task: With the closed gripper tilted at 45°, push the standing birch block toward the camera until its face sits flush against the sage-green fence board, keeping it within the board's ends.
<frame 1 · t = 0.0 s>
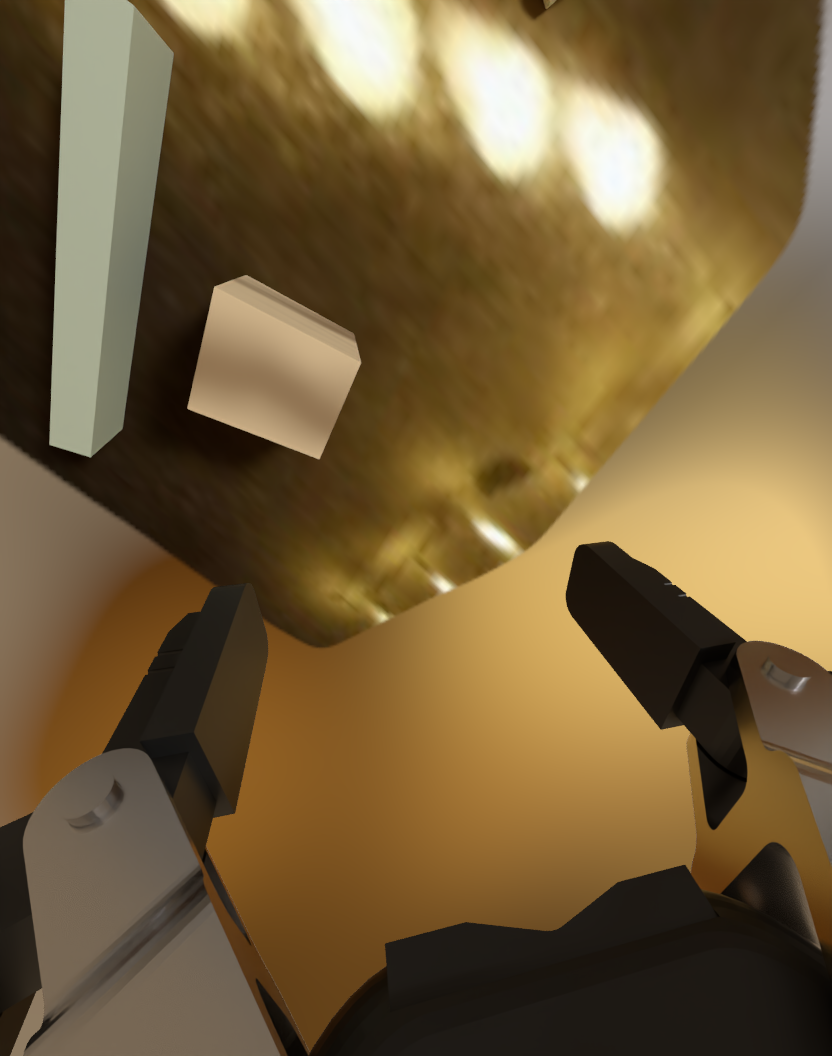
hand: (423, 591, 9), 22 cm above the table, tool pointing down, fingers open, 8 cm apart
birch block: (288, 350, 26), on the table
sage fence board: (122, 270, 22), on the table
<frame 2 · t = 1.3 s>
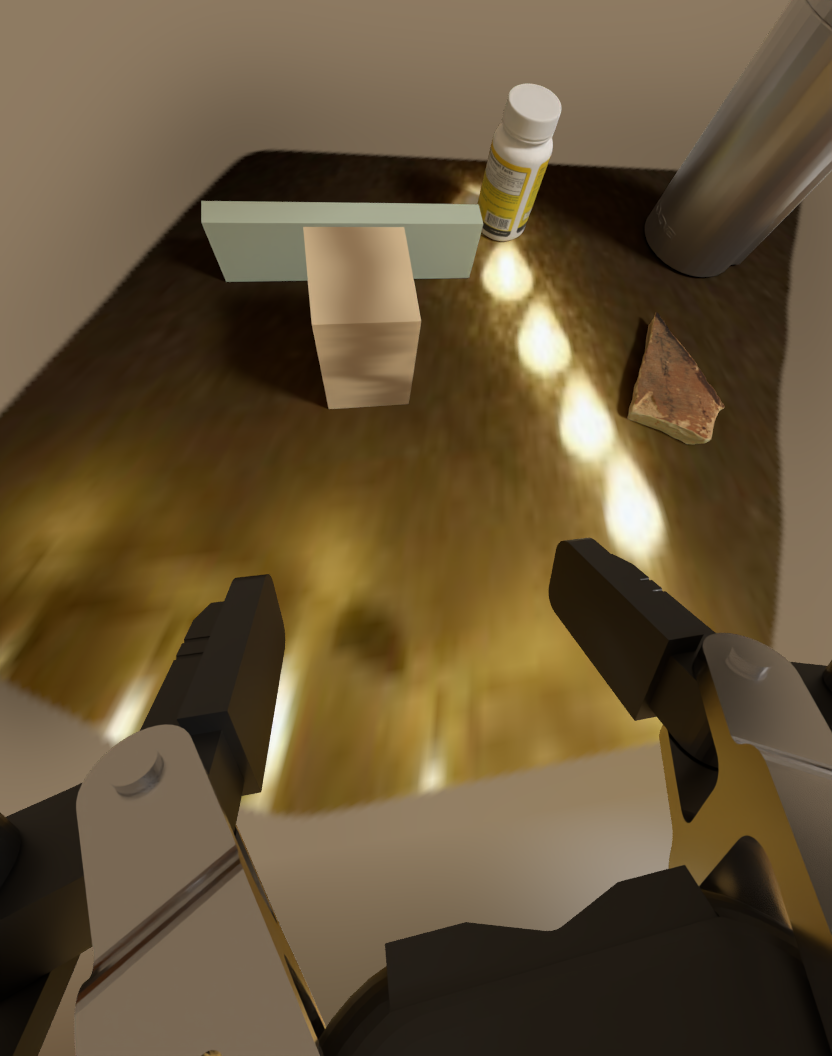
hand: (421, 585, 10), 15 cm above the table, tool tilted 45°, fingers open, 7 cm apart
birch block: (364, 367, 29), on the table
shard: (648, 393, 32), on the table
supplement bottle: (498, 226, 35), on the table
sage fence board: (351, 270, 32), on the table
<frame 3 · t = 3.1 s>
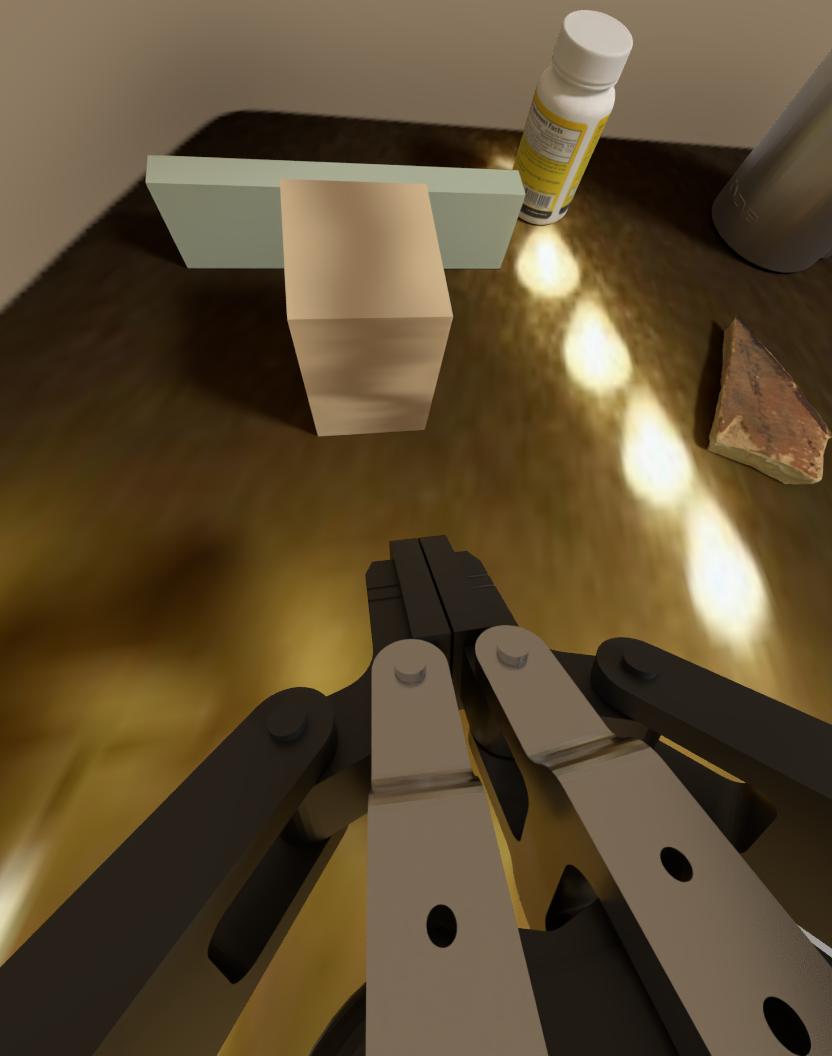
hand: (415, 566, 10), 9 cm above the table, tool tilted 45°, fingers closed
birch block: (366, 380, 22), on the table
shard: (729, 416, 25), on the table
supplement bottle: (533, 207, 28), on the table
sage fence board: (351, 256, 25), on the table
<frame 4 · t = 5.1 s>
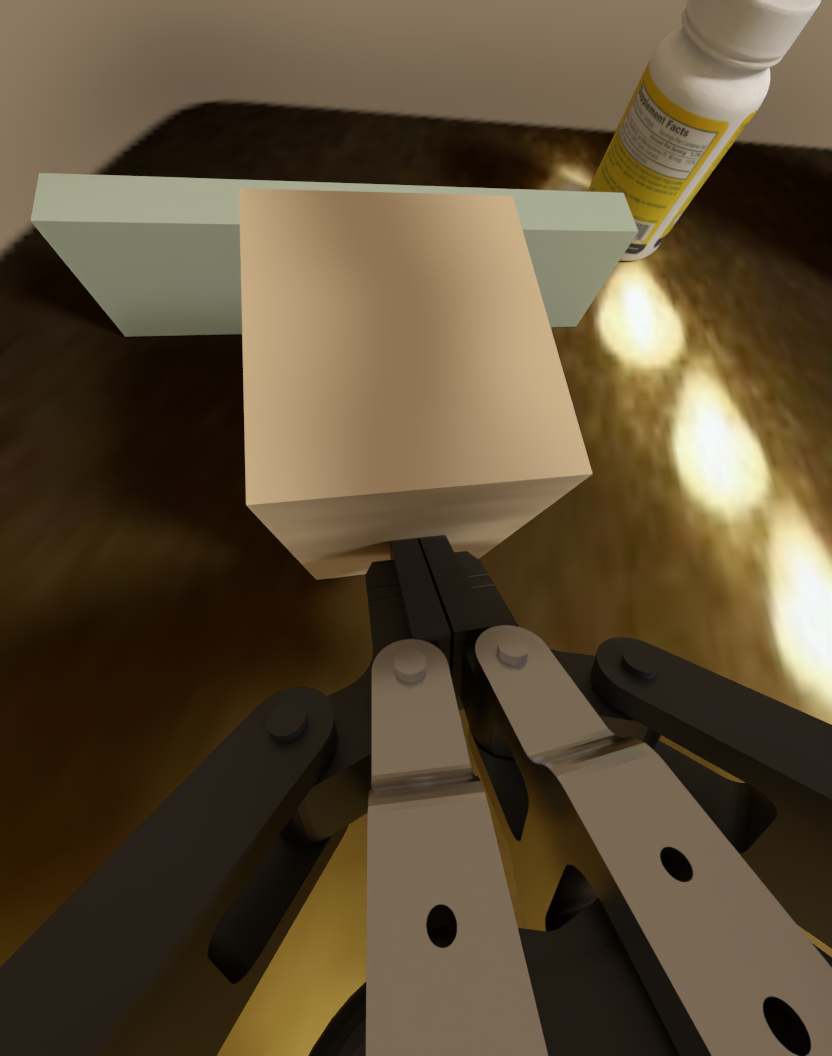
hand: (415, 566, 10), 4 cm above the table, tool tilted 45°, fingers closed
birch block: (387, 483, 15), on the table, touching gripper
supplement bottle: (613, 235, 21), on the table
sage fence board: (367, 313, 17), on the table
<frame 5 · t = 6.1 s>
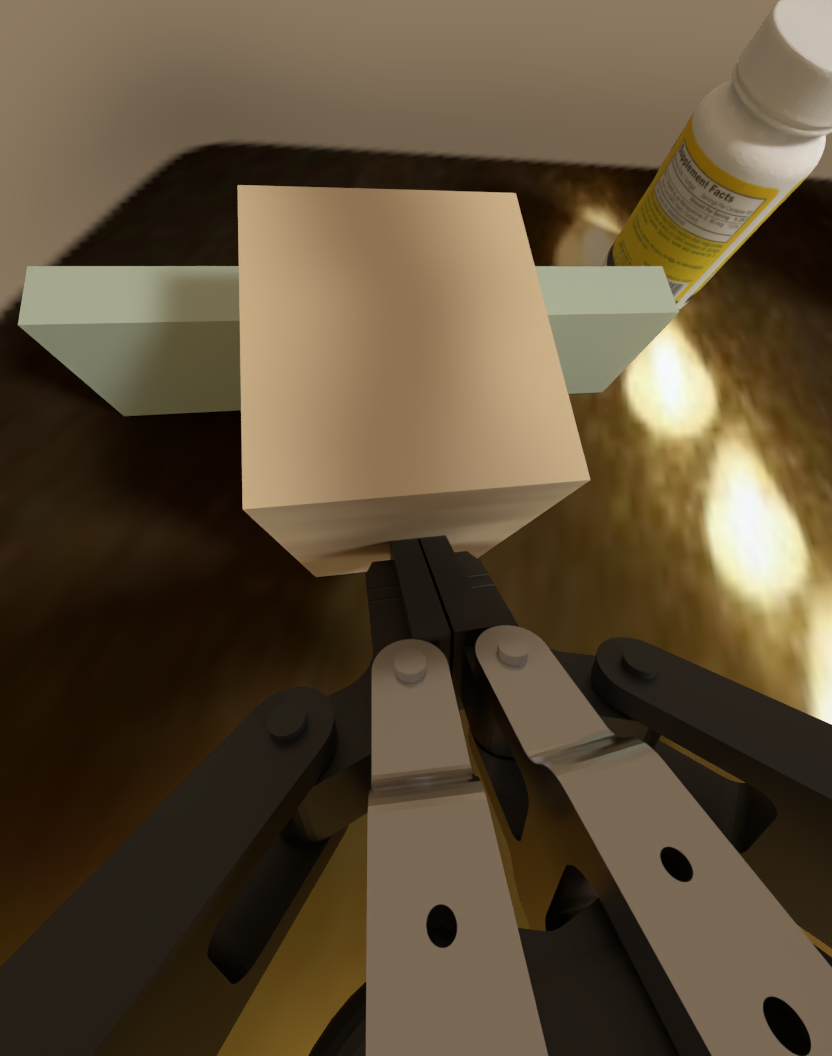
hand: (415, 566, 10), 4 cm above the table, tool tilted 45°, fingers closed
birch block: (387, 480, 15), on the table, touching gripper, sage fence board
supplement bottle: (640, 285, 20), on the table
sage fence board: (381, 382, 16), on the table
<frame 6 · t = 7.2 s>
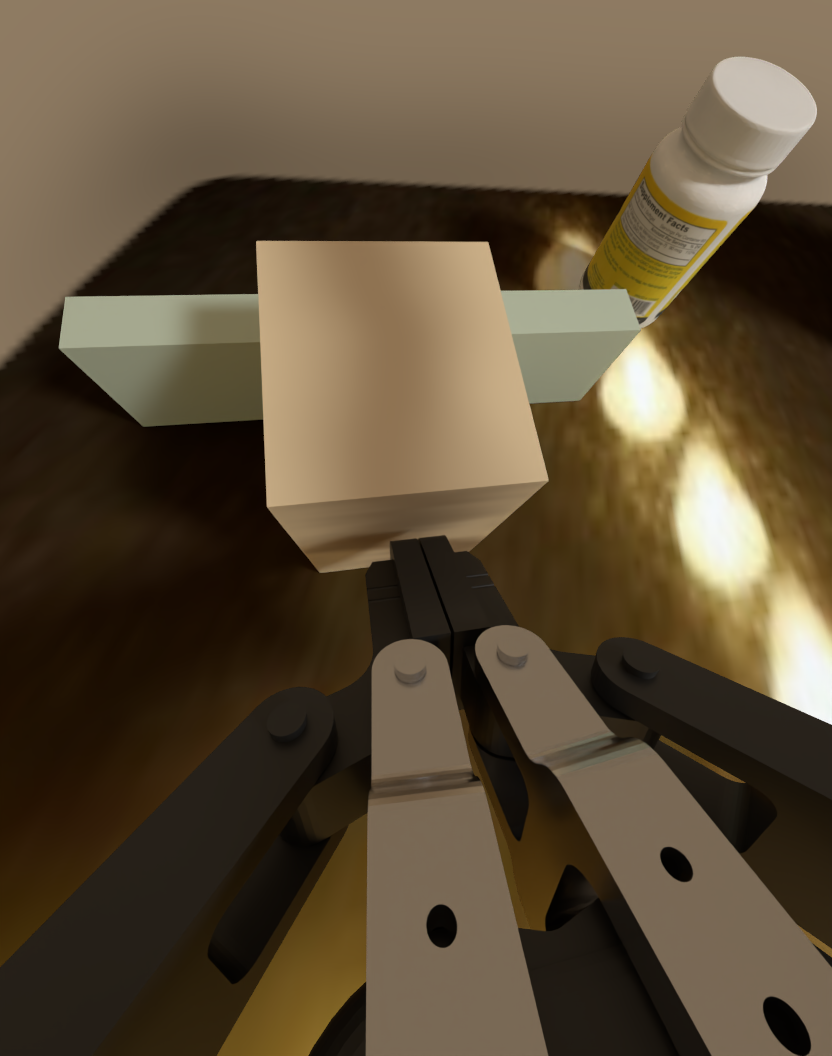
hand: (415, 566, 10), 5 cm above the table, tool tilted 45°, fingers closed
birch block: (384, 485, 16), on the table
supplement bottle: (614, 302, 21), on the table
sage fence board: (377, 393, 18), on the table
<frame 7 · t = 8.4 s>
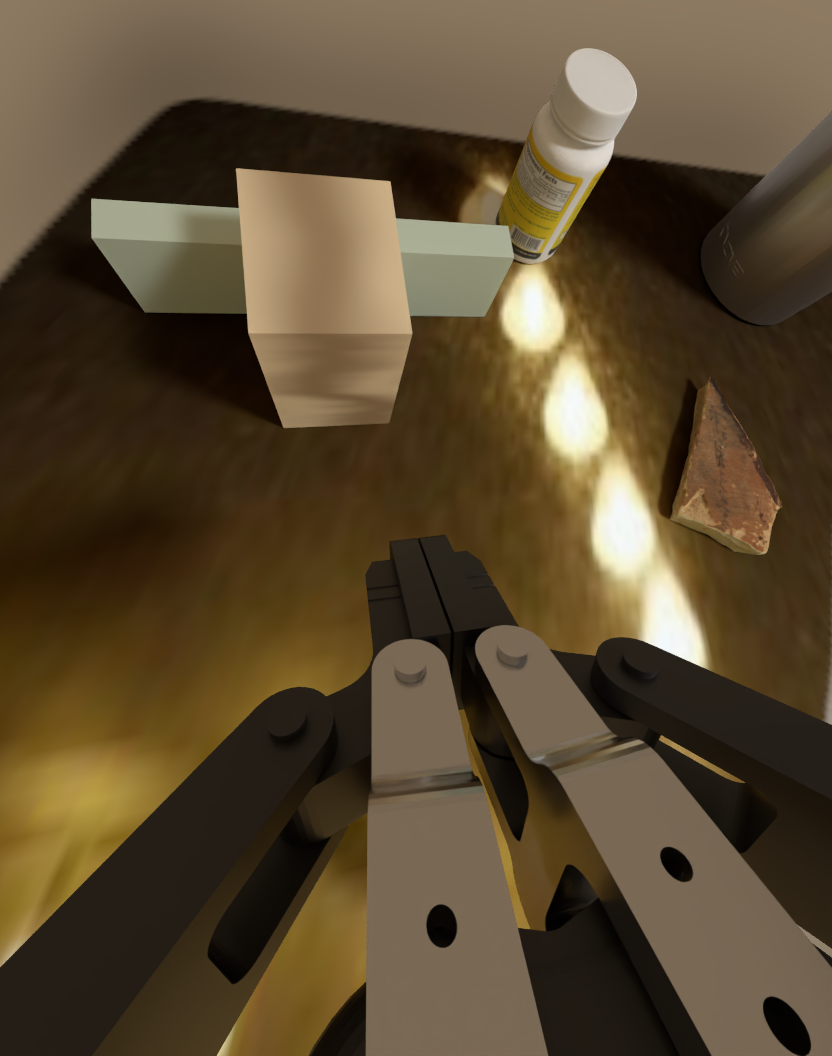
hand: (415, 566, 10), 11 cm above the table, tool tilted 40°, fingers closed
birch block: (331, 370, 22), on the table
shard: (693, 479, 27), on the table
supplement bottle: (522, 239, 27), on the table
sage fence board: (328, 300, 23), on the table
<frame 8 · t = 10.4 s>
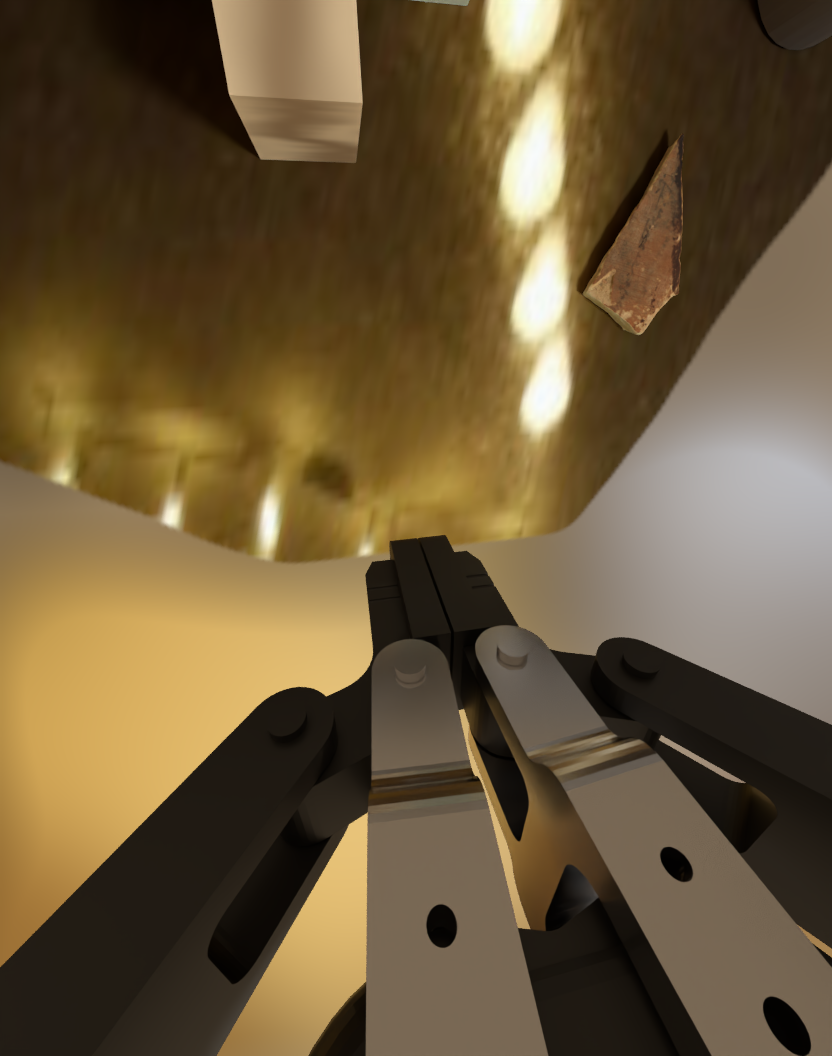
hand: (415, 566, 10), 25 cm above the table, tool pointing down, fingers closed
birch block: (299, 82, 23), on the table
shard: (621, 256, 31), on the table
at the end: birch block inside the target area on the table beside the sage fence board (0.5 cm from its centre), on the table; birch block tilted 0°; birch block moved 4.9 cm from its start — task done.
